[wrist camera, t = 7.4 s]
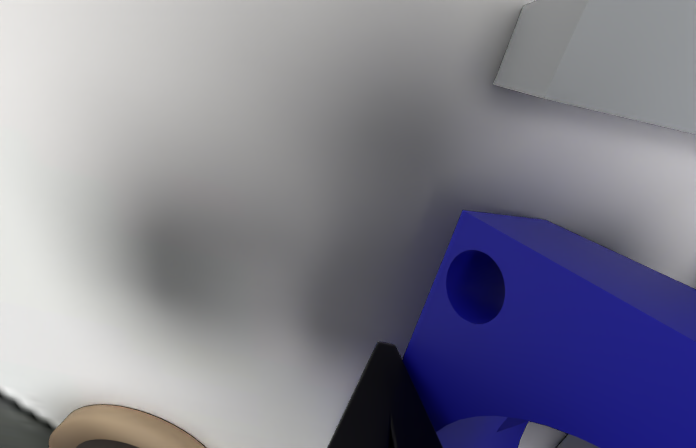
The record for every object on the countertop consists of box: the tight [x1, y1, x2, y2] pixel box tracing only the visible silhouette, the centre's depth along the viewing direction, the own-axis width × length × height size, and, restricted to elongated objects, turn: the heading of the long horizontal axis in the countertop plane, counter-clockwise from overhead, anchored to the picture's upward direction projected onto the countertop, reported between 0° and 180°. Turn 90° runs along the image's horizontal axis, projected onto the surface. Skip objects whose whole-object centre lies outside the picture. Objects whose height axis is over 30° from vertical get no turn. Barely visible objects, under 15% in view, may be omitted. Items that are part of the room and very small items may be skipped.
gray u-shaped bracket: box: [493, 0, 696, 448], centre depth 10 cm, size 19×8×3 cm, turn 168°
